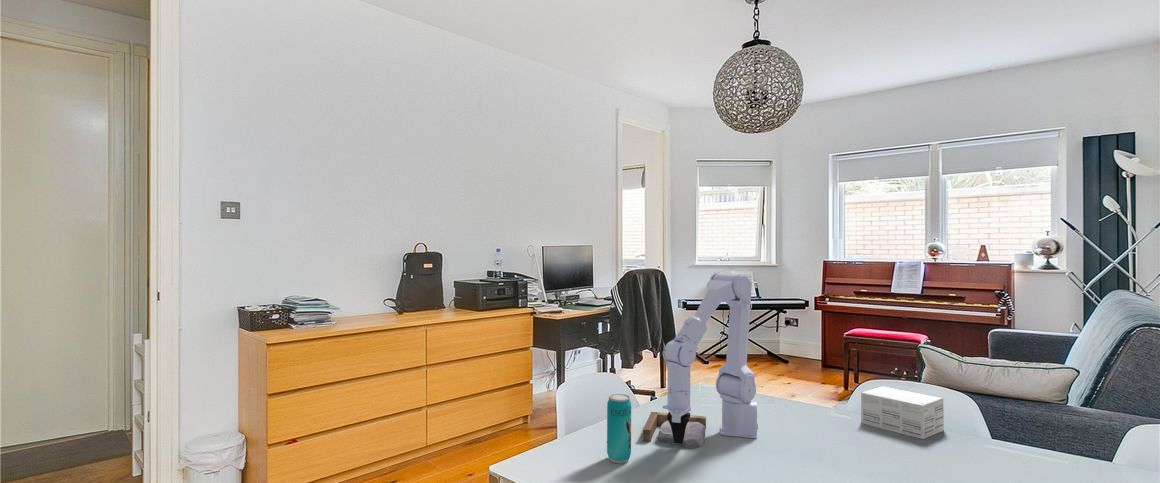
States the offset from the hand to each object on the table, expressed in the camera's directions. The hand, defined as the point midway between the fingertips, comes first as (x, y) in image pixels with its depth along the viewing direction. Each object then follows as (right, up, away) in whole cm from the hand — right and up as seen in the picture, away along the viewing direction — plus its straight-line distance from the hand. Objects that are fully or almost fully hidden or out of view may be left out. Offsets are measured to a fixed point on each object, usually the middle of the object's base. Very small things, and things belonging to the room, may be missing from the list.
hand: (678, 442), depth 137 cm
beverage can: (-16, -1, -8) cm, 17 cm away
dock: (+1, -1, +10) cm, 11 cm away
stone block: (+2, -2, +6) cm, 6 cm away
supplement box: (+67, -3, +18) cm, 70 cm away
